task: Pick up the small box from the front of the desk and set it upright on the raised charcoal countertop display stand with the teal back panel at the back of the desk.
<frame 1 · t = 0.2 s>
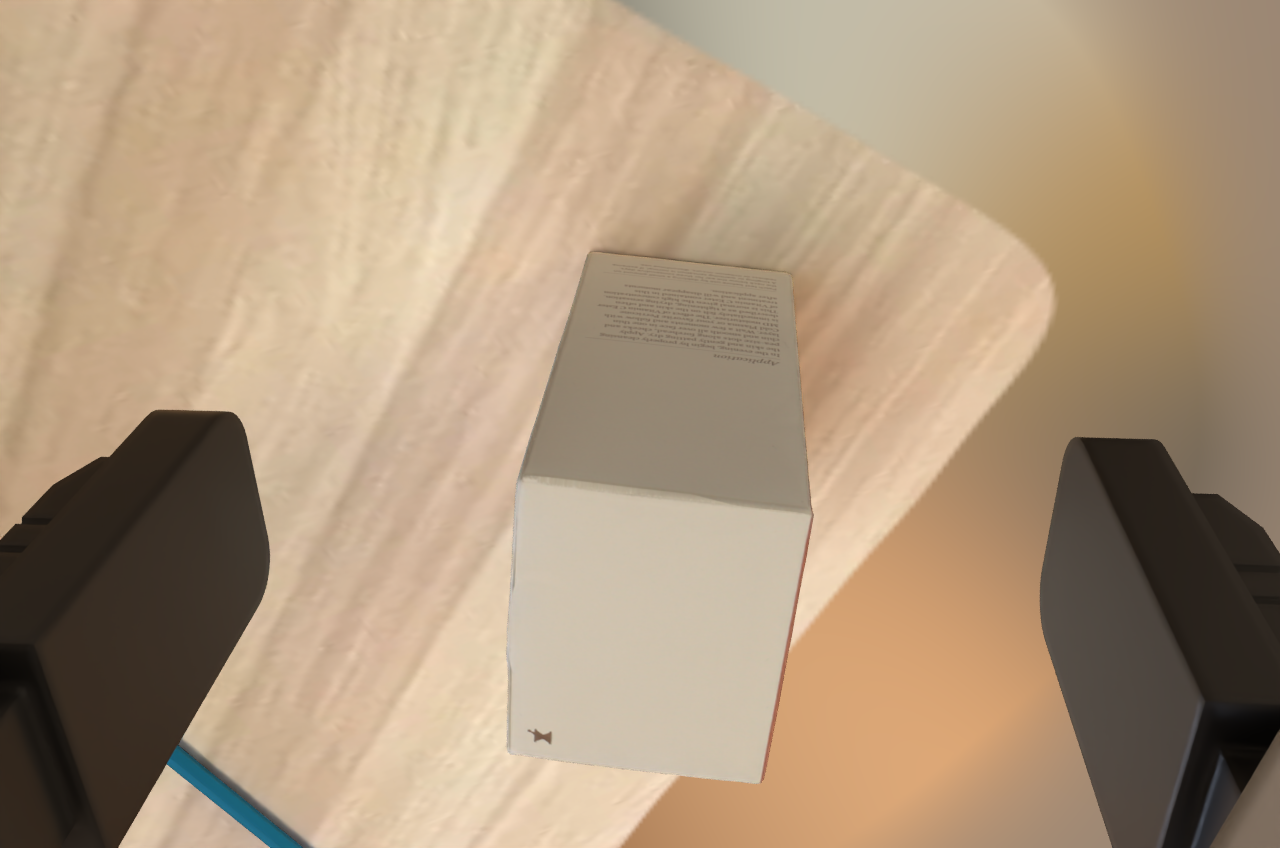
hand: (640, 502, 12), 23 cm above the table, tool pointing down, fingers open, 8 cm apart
small box: (679, 372, 37), on the table
pencil: (189, 753, 48), on the table
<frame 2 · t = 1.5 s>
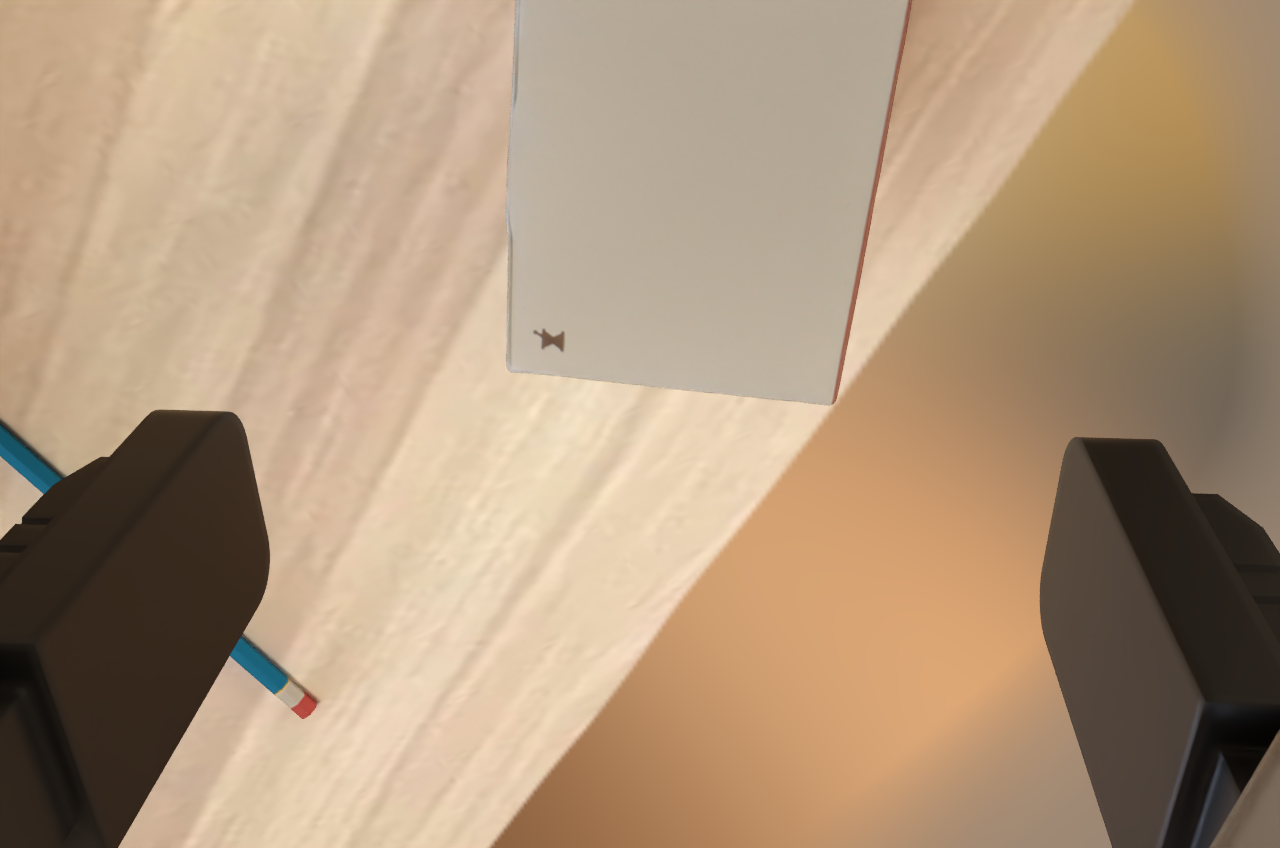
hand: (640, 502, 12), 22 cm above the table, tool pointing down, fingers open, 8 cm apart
small box: (713, 28, 31), on the table
pencil: (144, 550, 42), on the table
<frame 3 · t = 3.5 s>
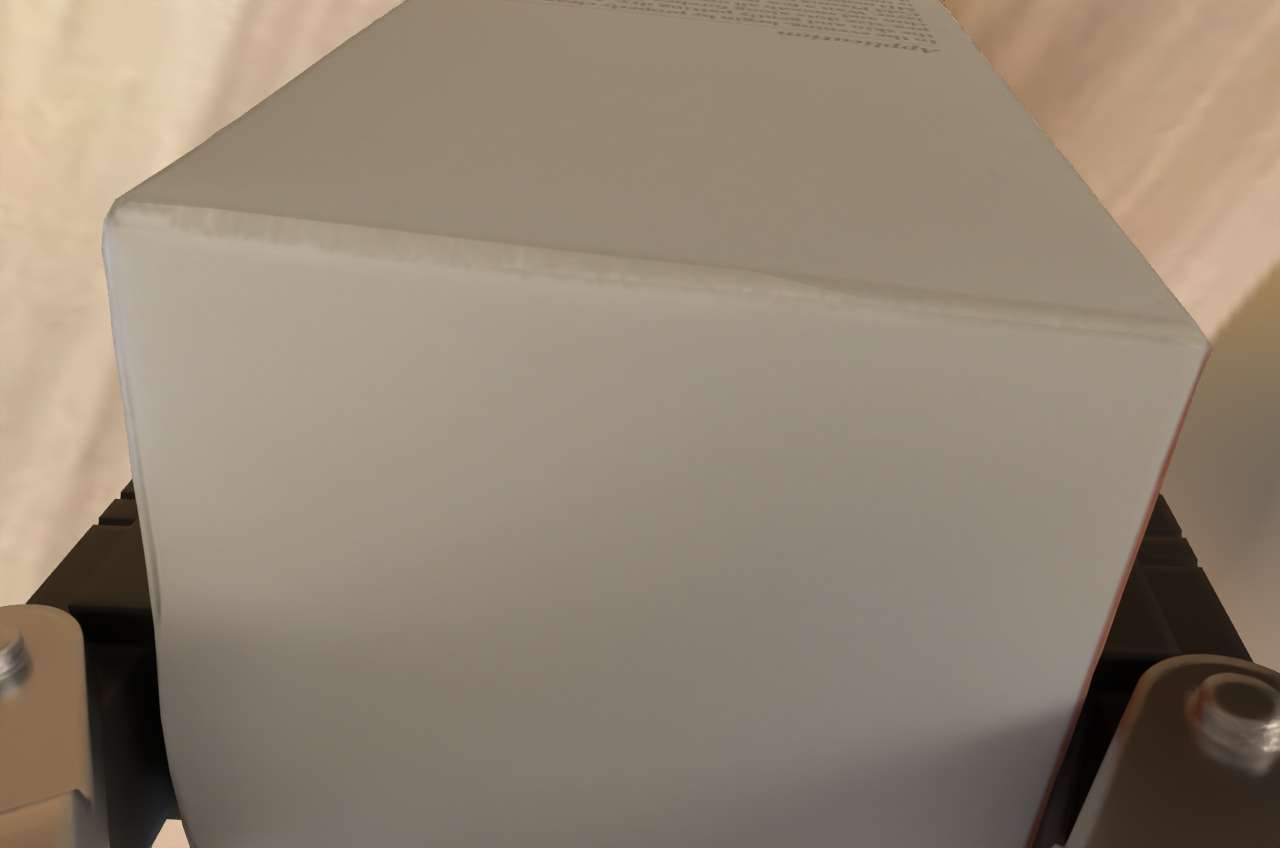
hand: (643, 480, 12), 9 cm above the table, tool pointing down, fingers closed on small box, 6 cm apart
small box: (688, 192, 20), on the table, touching gripper
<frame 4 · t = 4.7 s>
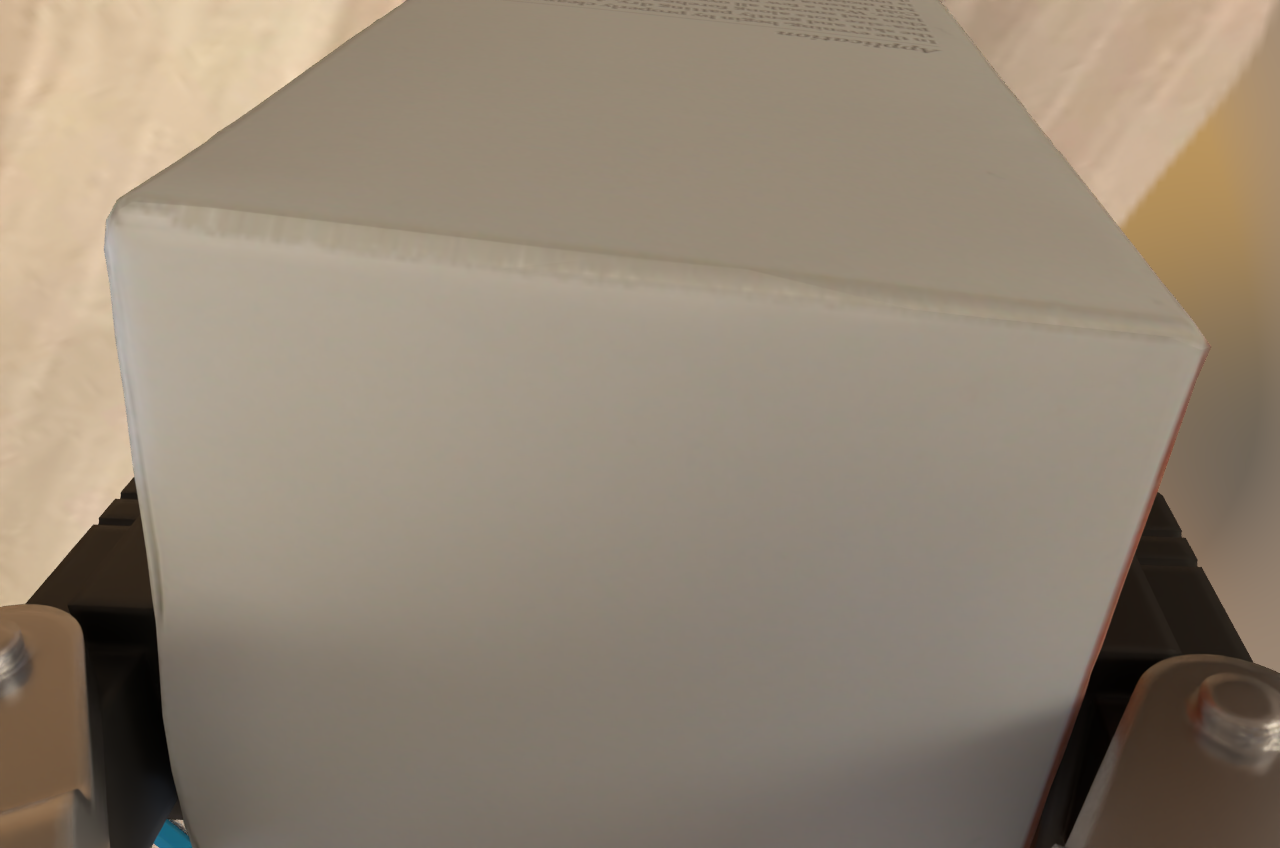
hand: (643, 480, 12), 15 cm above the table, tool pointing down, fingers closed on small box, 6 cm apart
small box: (688, 191, 20), point 6 cm above the table, touching gripper
pencil: (34, 709, 35), on the table
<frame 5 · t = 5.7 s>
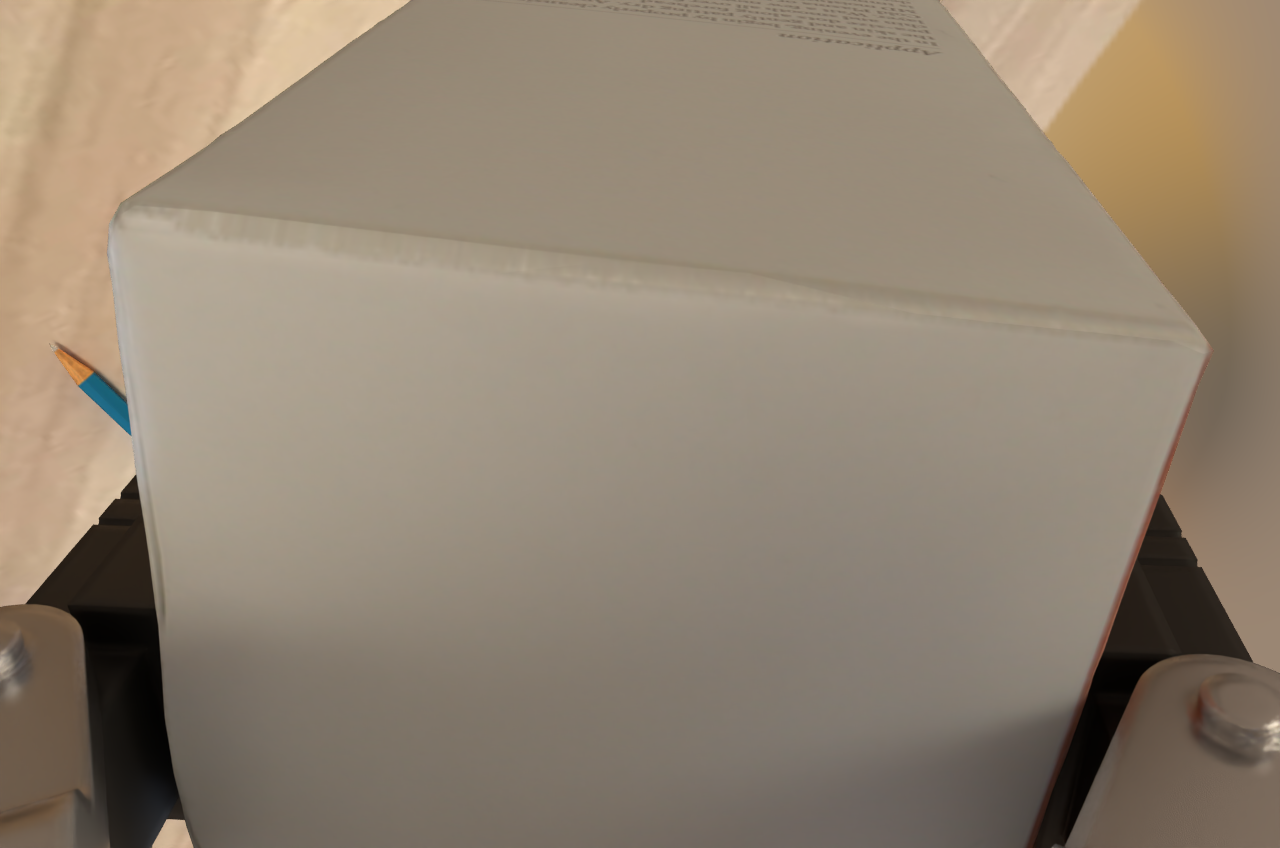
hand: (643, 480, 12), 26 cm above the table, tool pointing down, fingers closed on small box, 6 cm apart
small box: (689, 193, 20), point 17 cm above the table, touching gripper
pencil: (228, 500, 46), on the table
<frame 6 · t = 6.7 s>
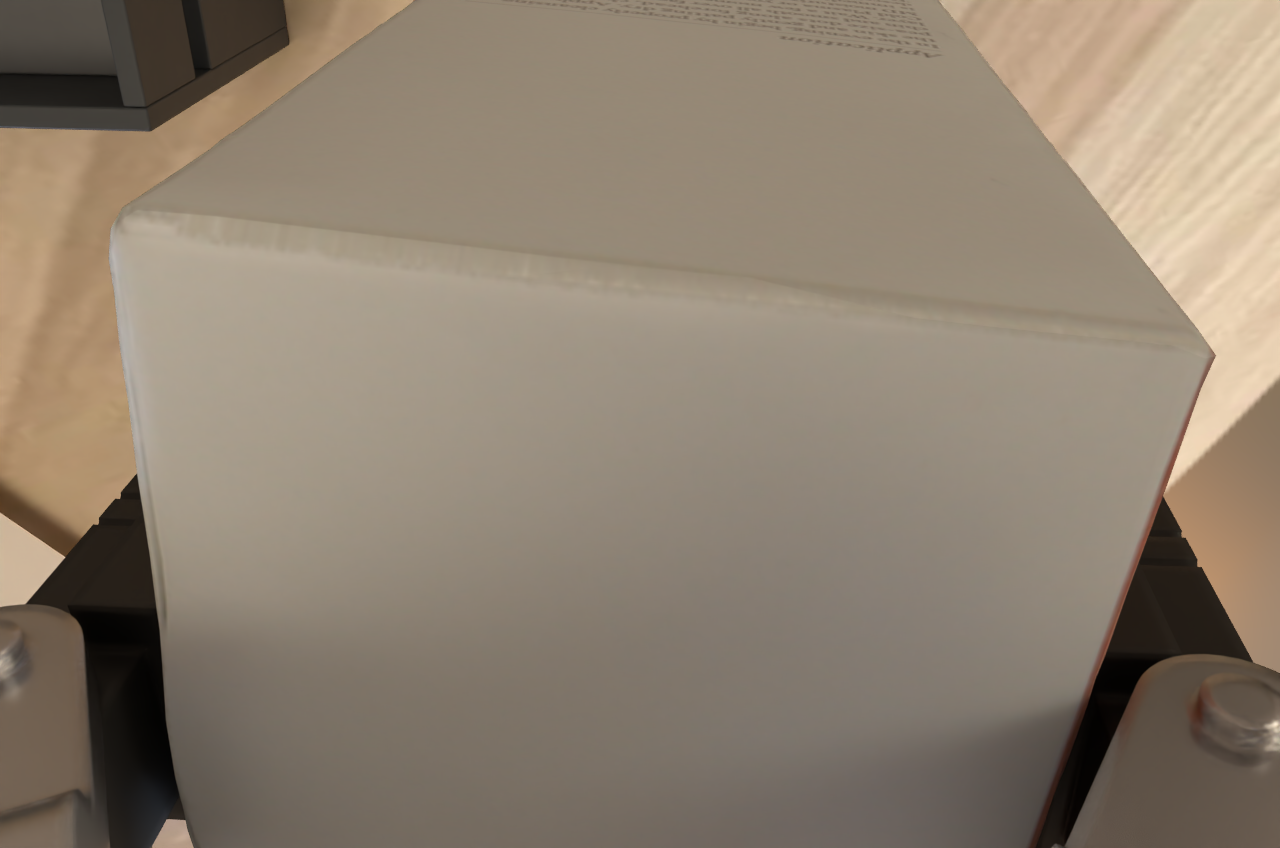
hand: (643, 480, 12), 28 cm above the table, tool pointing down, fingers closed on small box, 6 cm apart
small box: (690, 194, 20), point 19 cm above the table, touching gripper
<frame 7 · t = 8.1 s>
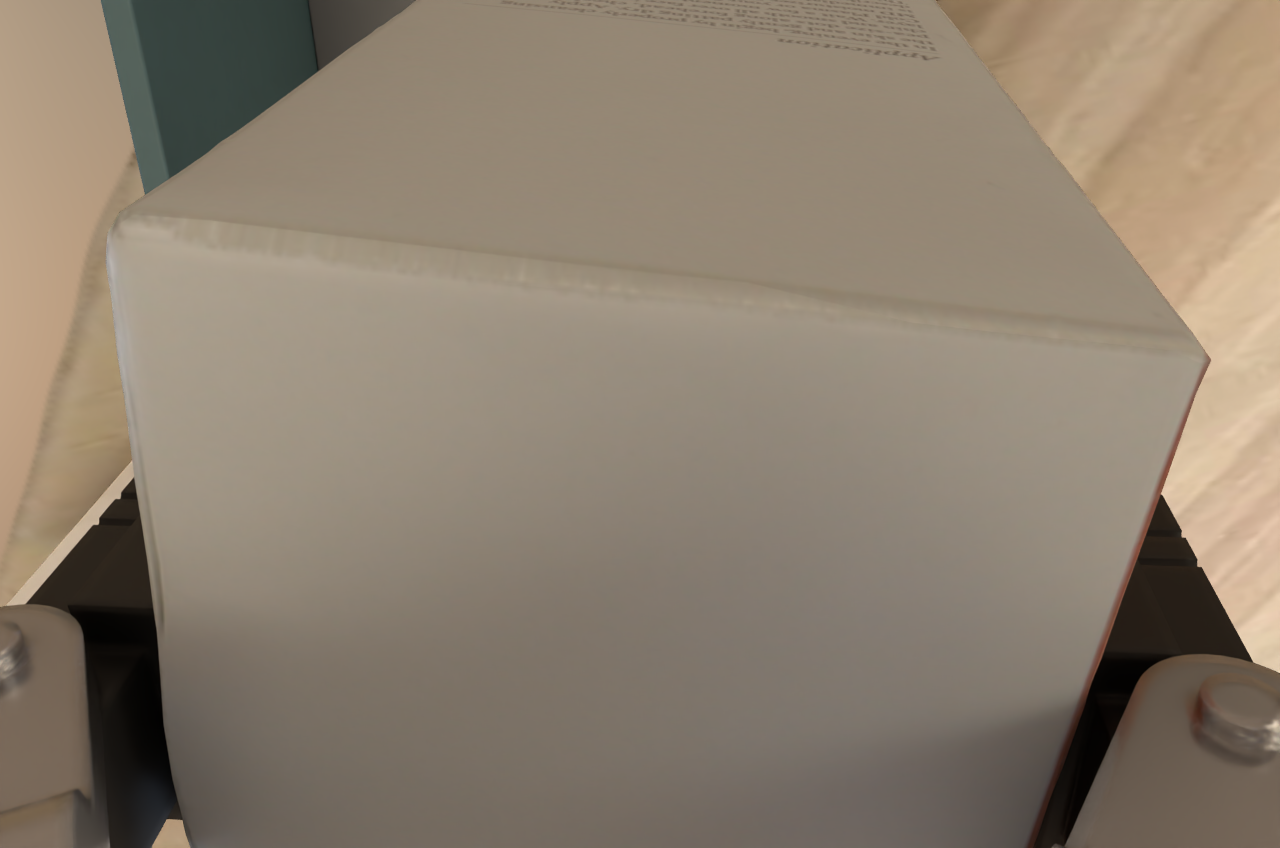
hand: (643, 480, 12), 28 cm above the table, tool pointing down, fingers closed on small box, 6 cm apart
small box: (688, 196, 20), point 19 cm above the table, touching gripper
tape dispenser: (296, 615, 50), on the table
when the fingers open (16 cm above the table, at t = 11.6 s): small box stays where it is, resting on countertop display stand.
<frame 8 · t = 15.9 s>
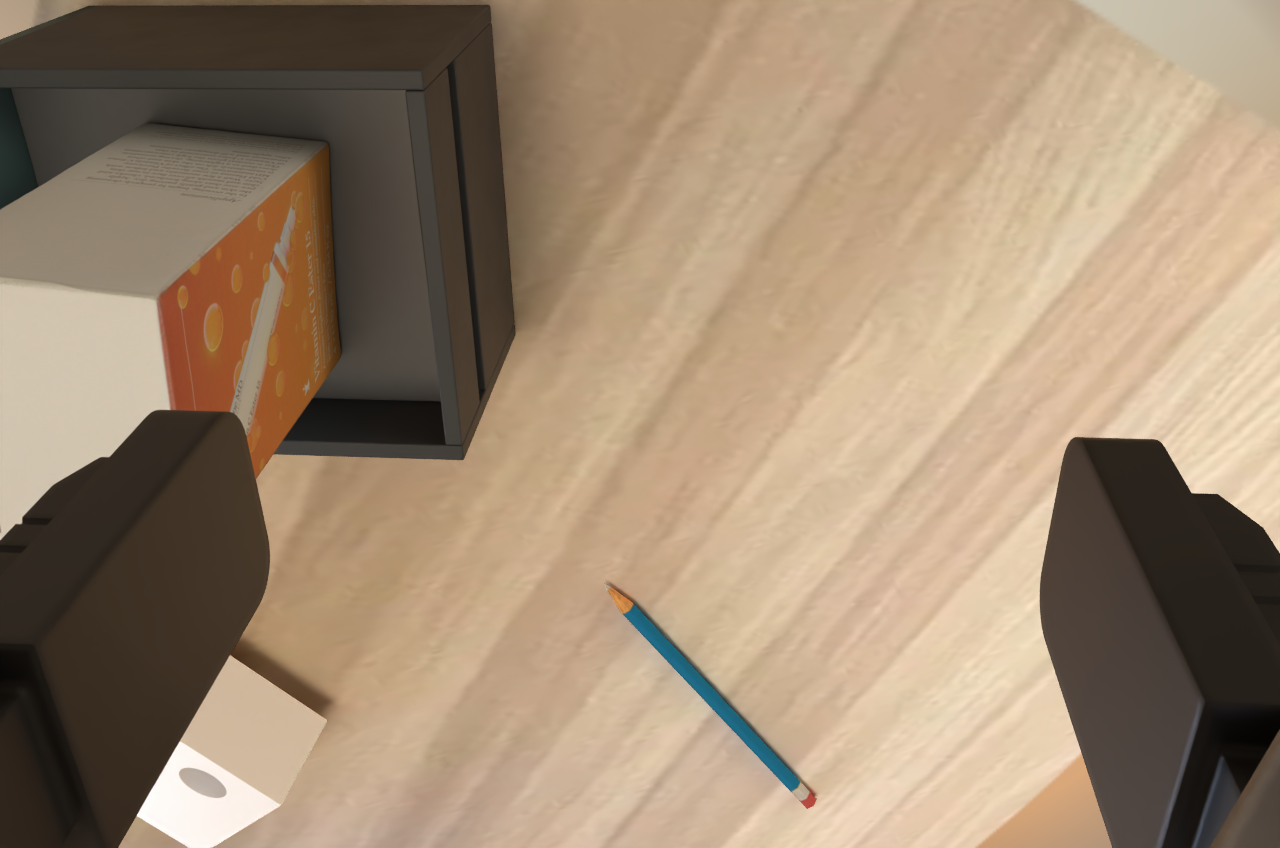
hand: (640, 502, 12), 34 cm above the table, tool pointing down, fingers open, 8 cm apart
small box: (252, 241, 40), point 7 cm above the table, touching countertop display stand
pencil: (713, 690, 58), on the table
countertop display stand: (313, 180, 46), on the table
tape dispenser: (128, 665, 61), on the table
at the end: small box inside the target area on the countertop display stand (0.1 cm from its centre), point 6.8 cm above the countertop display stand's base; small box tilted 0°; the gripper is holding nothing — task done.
